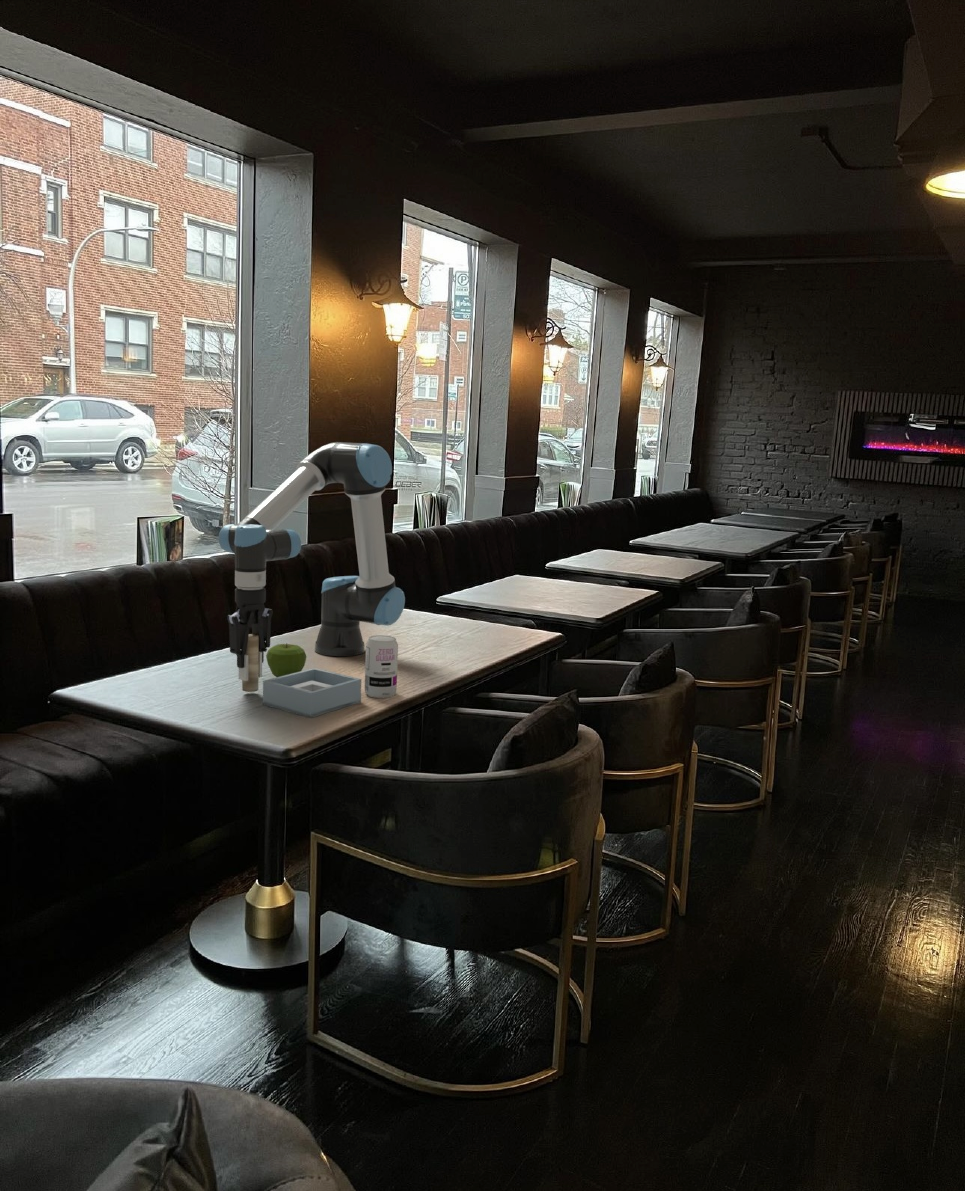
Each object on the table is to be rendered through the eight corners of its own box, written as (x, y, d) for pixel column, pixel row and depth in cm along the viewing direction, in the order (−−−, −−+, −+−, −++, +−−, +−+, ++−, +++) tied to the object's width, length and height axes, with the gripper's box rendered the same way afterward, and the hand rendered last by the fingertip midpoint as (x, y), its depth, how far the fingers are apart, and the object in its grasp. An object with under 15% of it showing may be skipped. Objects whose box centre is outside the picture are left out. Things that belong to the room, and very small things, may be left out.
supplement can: (380, 688, 257) (382, 633, 254) (402, 695, 252) (404, 638, 249) (358, 693, 250) (359, 637, 248) (380, 700, 245) (382, 643, 243)
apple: (258, 677, 262) (259, 641, 260) (293, 672, 268) (294, 637, 267) (278, 686, 254) (278, 649, 252) (313, 681, 260) (313, 645, 259)
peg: (238, 689, 244) (238, 635, 242) (250, 686, 248) (250, 633, 245) (250, 692, 242) (250, 638, 240) (261, 689, 246) (261, 635, 243)
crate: (262, 704, 237) (263, 680, 236) (313, 690, 252) (314, 668, 251) (310, 717, 228) (311, 693, 227) (360, 702, 243) (361, 679, 242)
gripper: (234, 593, 231) (235, 687, 235) (285, 585, 245) (285, 674, 249) (213, 589, 235) (214, 681, 239) (264, 581, 249) (264, 669, 253)
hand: (250, 677), depth 244 cm, fingers closed on peg, 4 cm apart
